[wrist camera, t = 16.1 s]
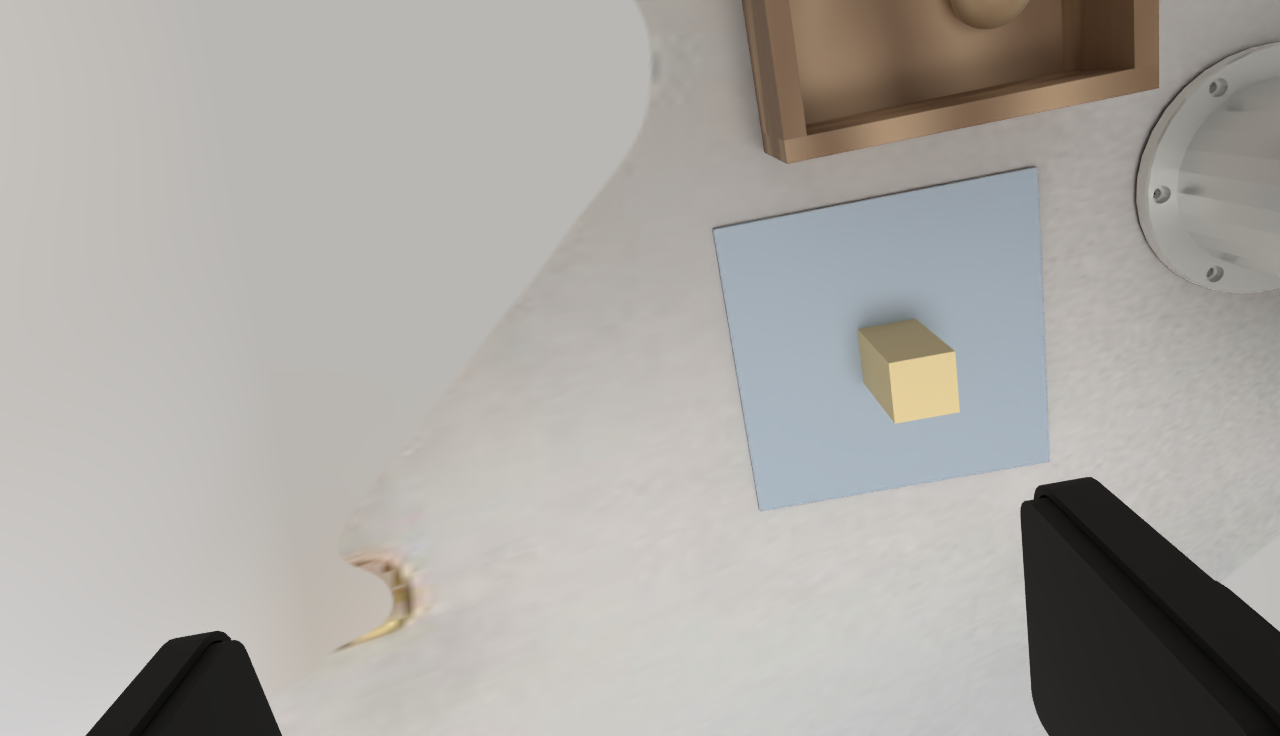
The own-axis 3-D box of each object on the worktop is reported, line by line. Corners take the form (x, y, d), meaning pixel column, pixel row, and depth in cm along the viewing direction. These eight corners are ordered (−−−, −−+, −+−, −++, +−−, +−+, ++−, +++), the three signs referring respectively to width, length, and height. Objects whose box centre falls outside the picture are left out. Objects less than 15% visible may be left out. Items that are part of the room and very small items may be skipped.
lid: (1028, 165, 44) (1098, 179, 37) (1041, 454, 49) (1104, 511, 43) (711, 227, 45) (724, 251, 38) (757, 503, 50) (776, 566, 44)
